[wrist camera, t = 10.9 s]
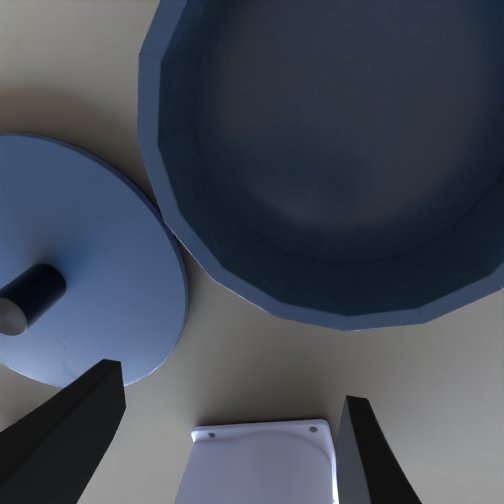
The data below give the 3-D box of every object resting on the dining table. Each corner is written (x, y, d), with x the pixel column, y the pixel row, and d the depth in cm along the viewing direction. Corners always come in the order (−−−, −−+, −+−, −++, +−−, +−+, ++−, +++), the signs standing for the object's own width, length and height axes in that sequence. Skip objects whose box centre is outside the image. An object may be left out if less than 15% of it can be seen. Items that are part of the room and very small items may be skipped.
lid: (10, 387, 30) (-41, 442, 26) (-125, 167, 24) (-224, 191, 19) (224, 366, 26) (206, 428, 22) (132, 95, 20) (80, 106, 15)
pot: (230, 288, 23) (208, 347, 19) (135, -25, 17) (65, -56, 13) (536, 244, 20) (604, 304, 15) (549, -173, 14) (670, -292, 9)
